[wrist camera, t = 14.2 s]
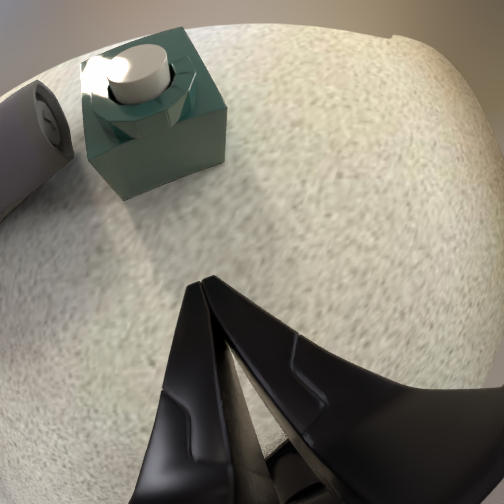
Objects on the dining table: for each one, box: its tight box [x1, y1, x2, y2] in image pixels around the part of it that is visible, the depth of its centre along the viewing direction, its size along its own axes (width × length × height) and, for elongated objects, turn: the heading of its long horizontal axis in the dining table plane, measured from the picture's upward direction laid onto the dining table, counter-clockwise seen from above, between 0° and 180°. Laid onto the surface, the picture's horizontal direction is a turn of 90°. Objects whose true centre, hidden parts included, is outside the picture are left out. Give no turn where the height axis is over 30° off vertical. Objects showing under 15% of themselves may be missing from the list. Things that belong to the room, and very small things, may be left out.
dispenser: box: [81, 27, 227, 201], centre depth 18 cm, size 11×9×9 cm
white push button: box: [105, 44, 171, 105], centre depth 12 cm, size 4×4×2 cm
